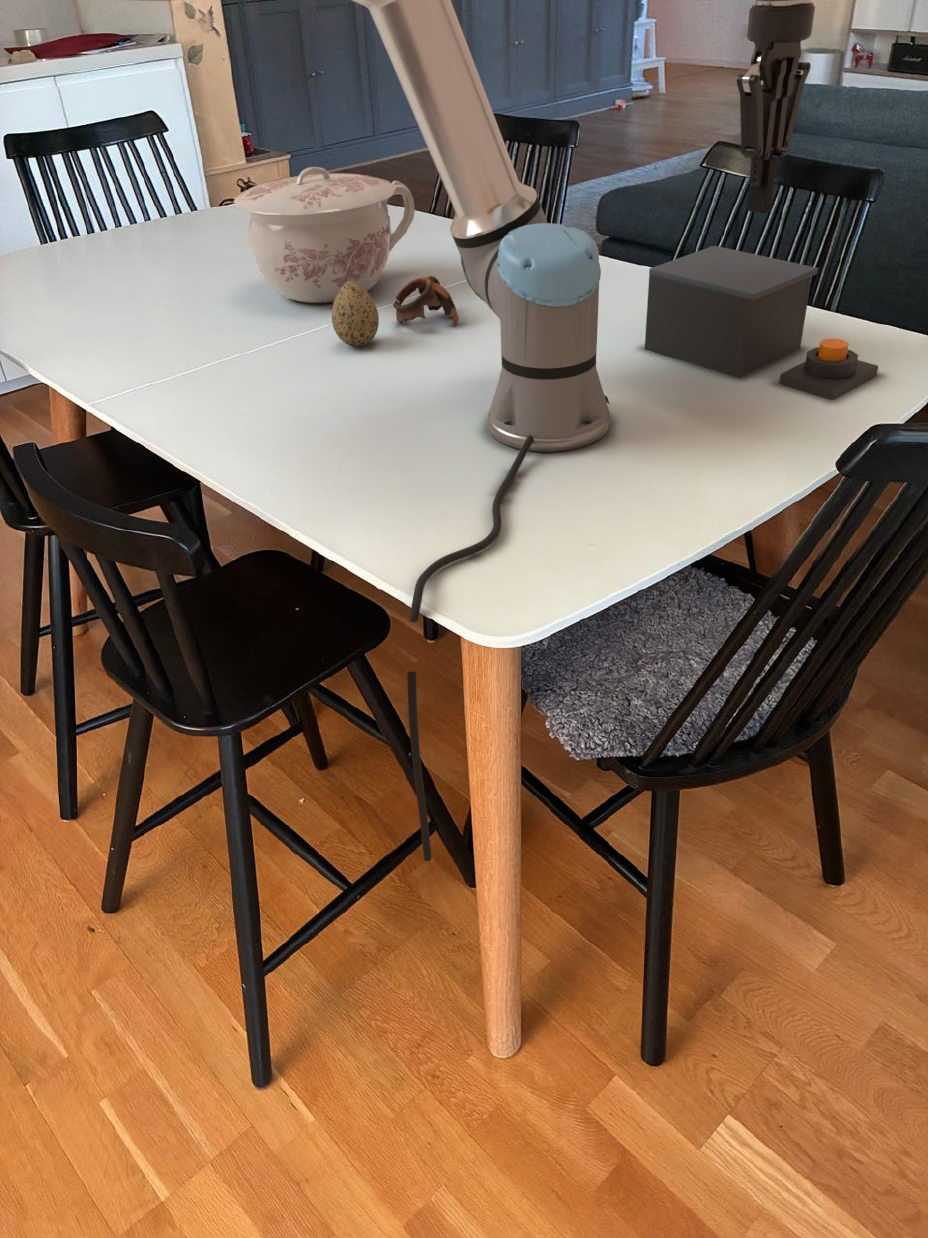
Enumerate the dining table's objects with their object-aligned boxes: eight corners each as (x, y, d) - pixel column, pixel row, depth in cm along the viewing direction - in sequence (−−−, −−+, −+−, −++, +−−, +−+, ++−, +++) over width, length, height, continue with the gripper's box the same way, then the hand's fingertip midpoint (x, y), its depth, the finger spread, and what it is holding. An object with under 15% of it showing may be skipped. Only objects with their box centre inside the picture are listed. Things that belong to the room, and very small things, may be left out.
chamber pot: (225, 314, 167) (200, 185, 154) (285, 267, 188) (267, 150, 176) (380, 320, 160) (366, 185, 148) (425, 270, 182) (416, 149, 170)
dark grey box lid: (817, 273, 135) (818, 267, 134) (753, 300, 127) (754, 294, 127) (713, 250, 146) (714, 245, 145) (649, 273, 138) (649, 268, 138)
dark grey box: (800, 348, 141) (812, 272, 135) (738, 378, 134) (748, 299, 128) (706, 322, 152) (713, 251, 146) (644, 348, 144) (649, 274, 138)
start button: (851, 357, 130) (854, 342, 129) (836, 365, 128) (839, 350, 127) (827, 351, 132) (829, 336, 131) (812, 358, 130) (814, 343, 129)
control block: (876, 376, 132) (881, 351, 130) (831, 400, 127) (836, 374, 125) (824, 361, 137) (828, 337, 135) (778, 384, 132) (782, 359, 130)
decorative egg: (390, 341, 152) (384, 277, 146) (361, 356, 148) (354, 290, 142) (355, 334, 156) (347, 271, 150) (326, 349, 151) (317, 284, 145)
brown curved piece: (461, 335, 154) (434, 294, 149) (412, 359, 158) (383, 320, 153) (465, 292, 162) (439, 252, 156) (418, 316, 166) (391, 278, 160)
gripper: (785, -5, 121) (761, 196, 135) (724, 6, 114) (705, 216, 128) (840, -4, 117) (810, 204, 131) (780, 7, 110) (754, 225, 124)
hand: (758, 210), depth 129 cm, fingers closed
